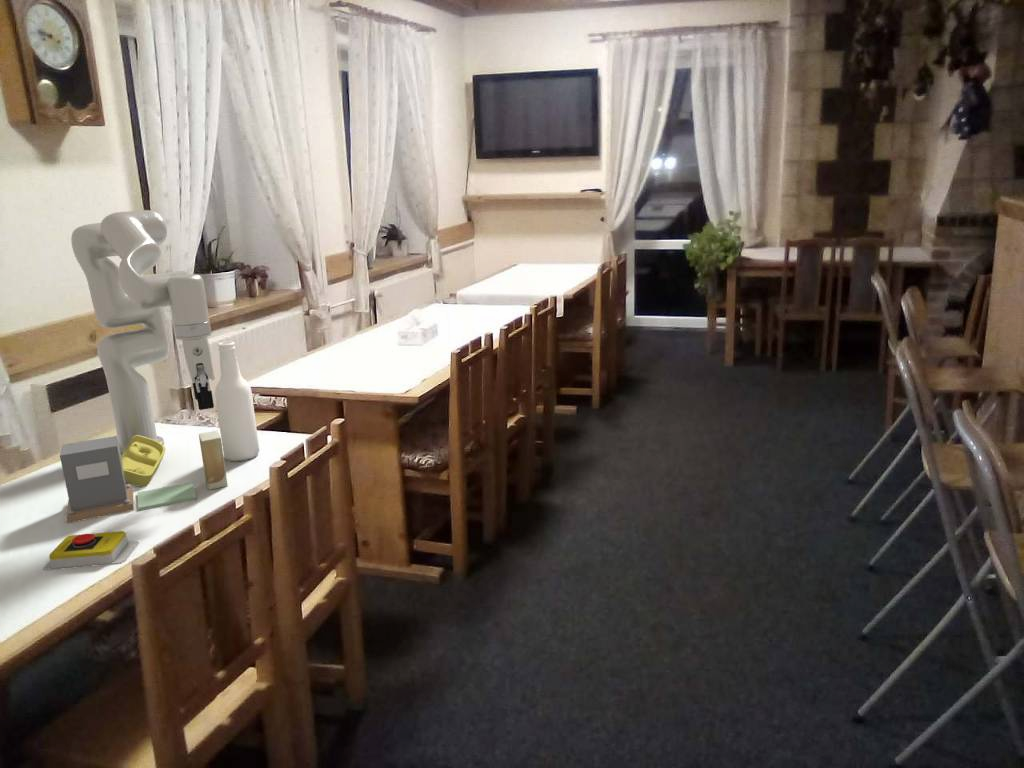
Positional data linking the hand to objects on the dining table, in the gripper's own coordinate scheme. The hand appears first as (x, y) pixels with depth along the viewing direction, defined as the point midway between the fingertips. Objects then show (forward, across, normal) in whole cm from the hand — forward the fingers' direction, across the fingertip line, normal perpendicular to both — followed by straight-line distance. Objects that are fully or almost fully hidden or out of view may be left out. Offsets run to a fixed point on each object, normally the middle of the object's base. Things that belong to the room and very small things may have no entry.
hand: (204, 403), depth 182 cm
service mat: (+20, -2, +11) cm, 23 cm away
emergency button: (+21, -26, +26) cm, 42 cm away
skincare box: (+20, 0, 0) cm, 20 cm away
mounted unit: (+20, 0, +25) cm, 32 cm away
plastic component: (+20, +18, +17) cm, 32 cm away
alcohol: (+20, +17, -8) cm, 28 cm away
